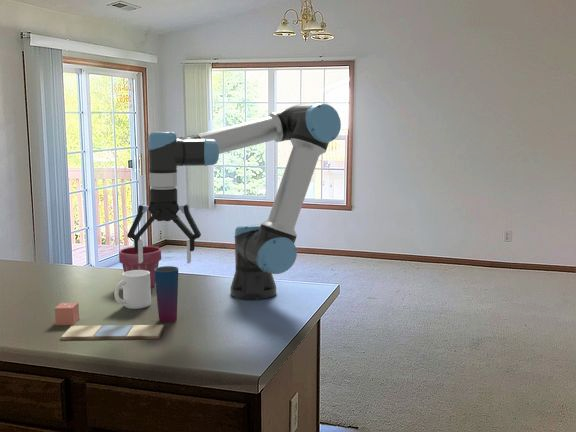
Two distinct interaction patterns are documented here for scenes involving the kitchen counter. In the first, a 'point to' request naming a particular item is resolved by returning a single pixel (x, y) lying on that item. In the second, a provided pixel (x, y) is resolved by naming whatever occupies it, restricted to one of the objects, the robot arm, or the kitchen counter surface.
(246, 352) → the kitchen counter surface
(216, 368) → the kitchen counter surface
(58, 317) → the die
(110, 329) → the multicoloured flat piece
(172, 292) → the cup
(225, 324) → the kitchen counter surface
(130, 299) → the mug
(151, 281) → the plant pot
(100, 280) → the kitchen counter surface
